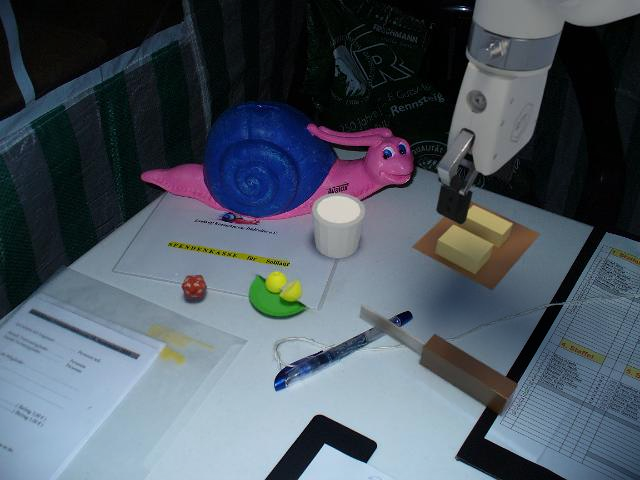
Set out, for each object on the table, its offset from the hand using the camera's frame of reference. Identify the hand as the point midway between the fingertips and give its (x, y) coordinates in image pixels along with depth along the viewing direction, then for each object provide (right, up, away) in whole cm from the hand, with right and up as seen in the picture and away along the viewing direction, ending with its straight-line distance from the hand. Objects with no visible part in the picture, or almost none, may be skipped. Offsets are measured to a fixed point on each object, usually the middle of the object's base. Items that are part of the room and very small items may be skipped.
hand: (474, 195), depth 64 cm
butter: (+2, -7, +15) cm, 17 cm away
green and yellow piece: (-21, -12, +11) cm, 27 cm away
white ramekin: (-14, -6, +17) cm, 23 cm away
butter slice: (+6, -4, +18) cm, 20 cm away
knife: (-4, -19, +3) cm, 20 cm away
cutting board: (+5, -6, +18) cm, 19 cm away
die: (-32, -12, +10) cm, 36 cm away
